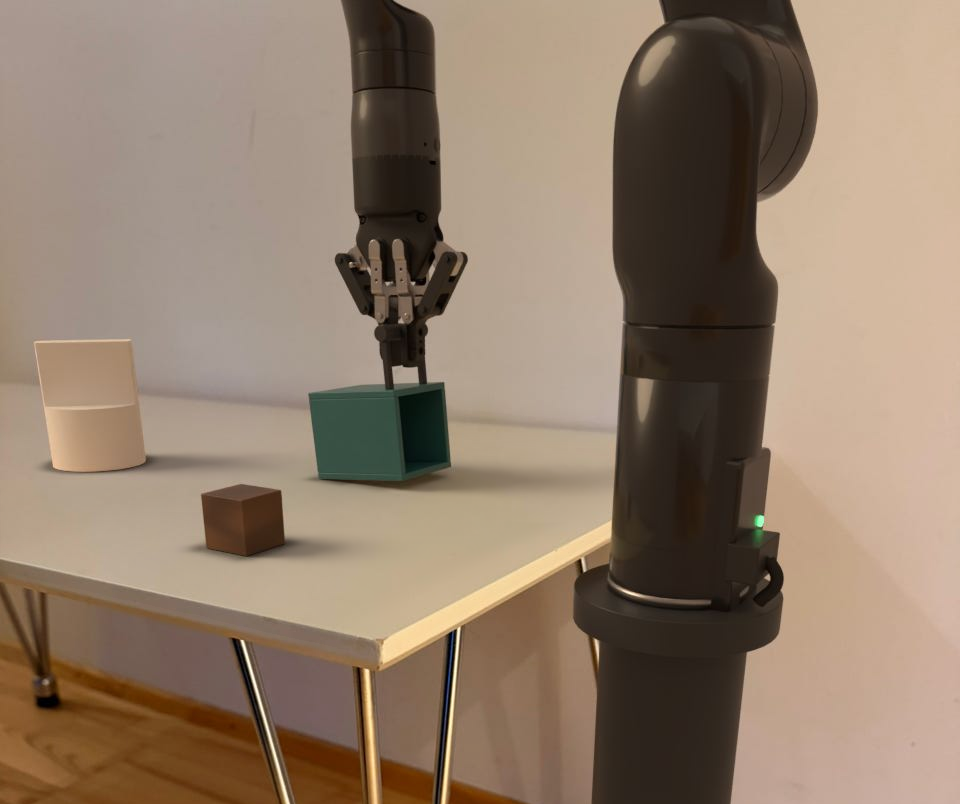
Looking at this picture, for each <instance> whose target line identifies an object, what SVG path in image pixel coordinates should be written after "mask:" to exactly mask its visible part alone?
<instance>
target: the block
mask: <svg viewBox="0 0 960 804" xmlns="http://www.w3.org/2000/svg"><path fill="white" fill-rule="evenodd" d="M282 494H283V493H282V490H281V489H277V488H272V487H271V488H270V487H264V486H257V485H252V484H246V483H239V484H235V485H232V486H227V487H223V488H218V489H215V490H211V491H207V492H203V493H200V497H201V498H200V499H201V507H202V518H203V529H204V538H205V539H204V540H205V548H206V549H210V550H215V551H219V552H225V553H230V554H234V555H239V556H243V557H248V556H252V555H254V554H258V553H261V552H263V551H266V550H270V549H273V548H275V547H276V548H277V547H278V546H281V545H284V544H286V537H285V535H286V534H285V524H284V523H285V522H284V508H283V495H282Z"/></svg>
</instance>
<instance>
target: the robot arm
mask: <svg viewBox="0 0 960 804" xmlns="http://www.w3.org/2000/svg"><path fill="white" fill-rule="evenodd" d="M340 3H341V7H342V11H343V16H344V20H345V25H346V30H347V33H348V41H349V56H350V73H351V74H350V75H351V94H352V96H351V111H350V112H351V113H350V144H351V165H352V187H353V188H352V190H353V205H354V206H353V209H354V212H355V214H356V215H357V218H358V221H359V224H358V230H357V232H356V236H355V244H354V245H353V246H351V248H350V249H349V250H348V251H346V252H337V254H336V255H335V256H334V264H335V266H336V267H337V270H338V272H339V273H340V276H341V277H342V280H343V281H344V284H345V286H346V288H347V290H348V292H349V294H350V295H351V298H352V300H353V301H354V304H355V306H356V307H357V309H358V311H359V313H360V314H361V315H362V316H367V317H370V318H372V319H374V320H375V321H376V323H377V326H379V325H389V324H402V323H405V324H403V325H400V330H401V340H396V341H390V351H391V361H392V368H394V367H401V366H402V367H403V368H406V369H408V368H409V369H411V368H418V367H419V366H420V365H421V363H422V360H424V357H425V358H426V336H425V324H427V321H428V320H430V319H432V318H433V317H434V318H435V317H438V316H442V315H444V313H445V310H446V309H447V307H448V304H449V302H450V301H451V298H452V296H453V294H454V291H455V289H456V287H457V285H458V283H459V281H460V279H461V277H462V275H463V273H464V271H465V269H466V266H467V264H468V261H469V257H468V254H467V253H466V252H464V251H458V250H456V249H454V248H453V247H451V246H450V245H449V244H447V243H446V242H445V241H444V234H443V231H442V228H441V226H440V222H439V217H440V214H441V212H442V168H441V167H442V166H441V164H442V163H441V126H440V125H441V124H440V116H439V111H438V101H437V99H438V98H437V59H436V58H437V57H436V56H437V55H436V53H437V51H436V34H435V33H436V32H435V28H434V26H433V24H432V22H431V20H430V19H429V18H428V16H426V15H424V14H423V13H420V12H419V11H416V10H414V9H412V8H409V7H407V6H405V5H402V4H401V3H399V2H397V1H396V0H340ZM658 3H659V7H660V11H661V14H662V19H663V24H661V25H660V26H659V27H657V28H656V29H654V31H652V32H651V34H649V35H648V36H647V38H645V40H644V41H643V42H642V44H641V45H640V46H639V47H638V49H637V51H635V54H634V56H633V57H632V59H631V61H630V63H629V64H628V67H627V70H626V73H625V74H624V78H623V80H622V84H621V86H620V90H619V95H618V99H617V103H616V109H615V110H616V111H615V117H614V123H613V124H614V126H613V140H612V141H613V142H612V204H611V205H612V208H611V209H612V211H611V212H612V213H611V214H612V224H611V225H612V227H611V228H612V229H611V230H612V233H611V234H612V235H611V237H612V238H611V239H612V243H611V245H612V246H611V247H612V248H611V249H612V251H611V252H612V262H613V268H614V273H615V276H616V280H617V283H618V285H619V289H620V291H621V292H620V293H621V296H622V322H623V323H622V328H621V347H620V348H621V349H620V365H619V366H620V367H619V383H618V384H619V385H618V401H617V419H616V423H617V424H616V435H615V436H616V437H615V456H614V475H613V493H612V511H611V513H612V514H611V529H610V531H611V533H610V551H609V556H608V557H609V559H608V564H610V569H609V572H608V579H607V586H608V588H609V590H610V591H611V592H613V593H614V594H615V595H617V596H619V597H621V598H623V599H626V600H628V601H631V602H635V603H638V604H642V605H646V606H652V607H657V608H665V609H675V610H717V611H722V612H729V611H731V610H732V609H733V608H734V607H735V606H736V605H737V604H739V603H740V602H741V601H743V600H744V599H745V598H746V597H747V596H748V595H749V594H750V593H751V592H752V591H753V590H755V589H756V586H757V584H758V583H759V582H760V581H761V580H762V579H763V578H765V579H766V577H767V576H769V581H770V582H769V584H768V585H767V586H766V587H765V588H764V589H763V590H761V591H760V592H759V593H758V594H757V595H756V596H755V597H754V598H753V601H754V602H755V603H756V604H757V605H759V606H760V607H764V606H765V605H766V604H767V603H768V602H769V601H771V600H772V599H773V598H774V597H776V596H777V595H778V593H779V592H780V590H781V591H782V589H783V586H784V582H785V575H784V571H783V568H782V567H781V565H780V563H779V561H778V554H779V546H780V537H781V534H780V532H779V531H773V530H766V529H765V530H764V523H765V512H766V504H767V495H768V485H769V476H770V467H771V457H772V451H771V450H770V449H771V448H770V447H767V446H763V443H764V432H765V424H766V423H765V422H766V414H767V413H766V412H767V404H768V395H769V385H770V375H771V368H772V367H771V366H772V358H773V357H772V356H773V350H774V349H773V348H774V337H775V328H776V325H775V324H776V321H777V312H778V301H779V282H778V279H777V277H776V275H775V274H774V273H773V271H772V270H771V269H770V267H769V266H768V265H767V263H766V261H765V259H764V257H763V255H762V253H761V249H760V246H759V241H758V234H757V219H758V218H757V217H758V203H761V202H764V201H767V200H769V199H771V198H773V197H775V196H776V195H778V194H779V193H781V192H782V191H783V190H784V189H785V188H786V187H788V185H790V184H791V183H792V181H793V180H794V179H795V178H796V176H797V175H798V173H799V172H800V170H801V169H803V167H804V164H805V162H806V160H807V158H808V156H809V154H810V151H811V148H812V146H813V142H814V138H815V136H816V131H817V124H818V117H819V97H818V96H819V95H818V89H817V87H818V86H817V82H816V77H815V72H814V69H813V66H812V62H811V58H810V56H809V55H810V54H809V53H808V52H809V51H808V49H807V46H806V43H805V40H804V37H803V33H802V30H801V27H800V25H799V22H798V19H797V15H796V12H795V10H794V6H793V4H792V0H658ZM432 267H433V268H434V270H433V273H432V274H431V277H430V269H431V268H432ZM368 268H369V269H370V272H369V271H368ZM386 283H389V284H388V285H387V284H386ZM412 283H414V284H412ZM400 321H402V322H400ZM378 347H379V356H380V359H381V360H382V350H381V342H379V343H378Z"/></svg>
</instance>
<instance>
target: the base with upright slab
mask: <svg viewBox="0 0 960 804" xmlns="http://www.w3.org/2000/svg"><path fill="white" fill-rule="evenodd" d="M33 347H34V351H35V353H34V354H35V359H36V365H37V371H38V379H39V384H40V390H41V391H40V392H41V397H42V403H43V410H44V417H45V423H46V431H47V437H48V442H49V449H50V455H51V462H52V467H53V468H54V469H56V470H60V471H65V472H76V473H77V472H79V473H80V472H81V473H85V472H86V473H88V472H90V473H92V472H108V471H109V472H110V471H116V470H117V471H118V470H125V469H129V468H133V467H137V466H140V465H143V464H145V463H146V462H147V457H146V449H145V448H146V447H145V440H144V433H143V423H142V416H141V407H140V400H139V399H140V397H139V391H138V383H137V375H136V366H135V358H134V350H133V349H134V348H133V340H132V339H130V338H121V339H120V338H118V339H117V338H113V339H110V338H109V339H66V340H65V339H63V340H62V339H60V340H59V339H57V340H56V339H55V340H36V341H33Z"/></svg>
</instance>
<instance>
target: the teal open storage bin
mask: <svg viewBox="0 0 960 804" xmlns="http://www.w3.org/2000/svg"><path fill="white" fill-rule="evenodd" d="M401 323H402V324H389V325H379V326H378V325H377V326H375V328H374V330H373V336H374V338H375V339H376V341H377V342H379V343H380V342H381V350H382V359H381V360H382V369H383V378H384V383H375V384H374V383H373V384H370V383H369V384H359V385H357V384H356V385H351V386H345V387H339V388H332V389H325V390H318V391H313V392H312V391H311V392H308V393H307V394H308V404H309V412H310V419H311V426H312V427H311V428H312V435H313V445H314V451H315V461H316V468H317V476H318V479H320V480H343V481H346V480H347V481H375V482H376V481H378V482H379V481H380V482H382V481H383V482H405V481H408V480H411V479H415V478H419V477H423V476H426V475H428V474H432V473H436V472H439V471H442V470H445V469H449V468H451V467H452V461H451V446H450V434H449V422H448V421H449V420H448V410H447V408H448V407H447V399H446V398H447V397H446V386H445V385H446V383H445V381H433V382H432V381H431V382H429V381H428V376H427V364H426V356H425V357H424V360H422V363H421V365H420V366H419V367H417V377H418V378H417V379H418V382H403V383H402V382H400V383H395V382H394V374H393V373H394V372H393V367H392V361H391V351H390V341H396V340H401V330H400V325H403V324H405V323H404V322H401ZM428 333H429V327H428V325H427V323H425V337H427V335H428Z"/></svg>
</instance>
